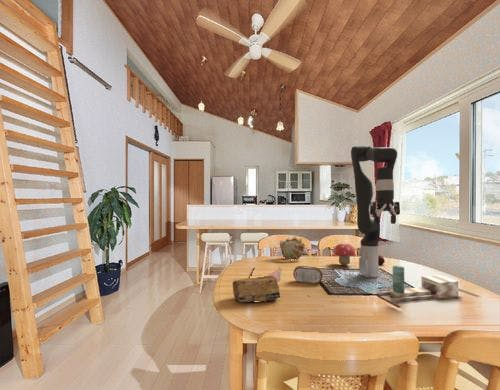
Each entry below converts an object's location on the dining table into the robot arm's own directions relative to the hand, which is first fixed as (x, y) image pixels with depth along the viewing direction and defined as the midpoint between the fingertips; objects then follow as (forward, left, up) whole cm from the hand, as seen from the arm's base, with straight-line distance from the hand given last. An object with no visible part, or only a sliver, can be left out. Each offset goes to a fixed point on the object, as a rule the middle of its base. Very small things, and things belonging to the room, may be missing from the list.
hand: (385, 223), depth 125 cm
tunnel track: (+13, -10, -32) cm, 36 cm away
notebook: (-47, +41, -33) cm, 70 cm away
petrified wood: (-62, +5, -32) cm, 70 cm away
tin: (-30, +21, -32) cm, 49 cm away
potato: (+32, +48, -32) cm, 66 cm away
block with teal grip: (+4, -10, -31) cm, 33 cm away
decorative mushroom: (+8, +49, -32) cm, 59 cm away
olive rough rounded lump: (-20, +71, -32) cm, 81 cm away
